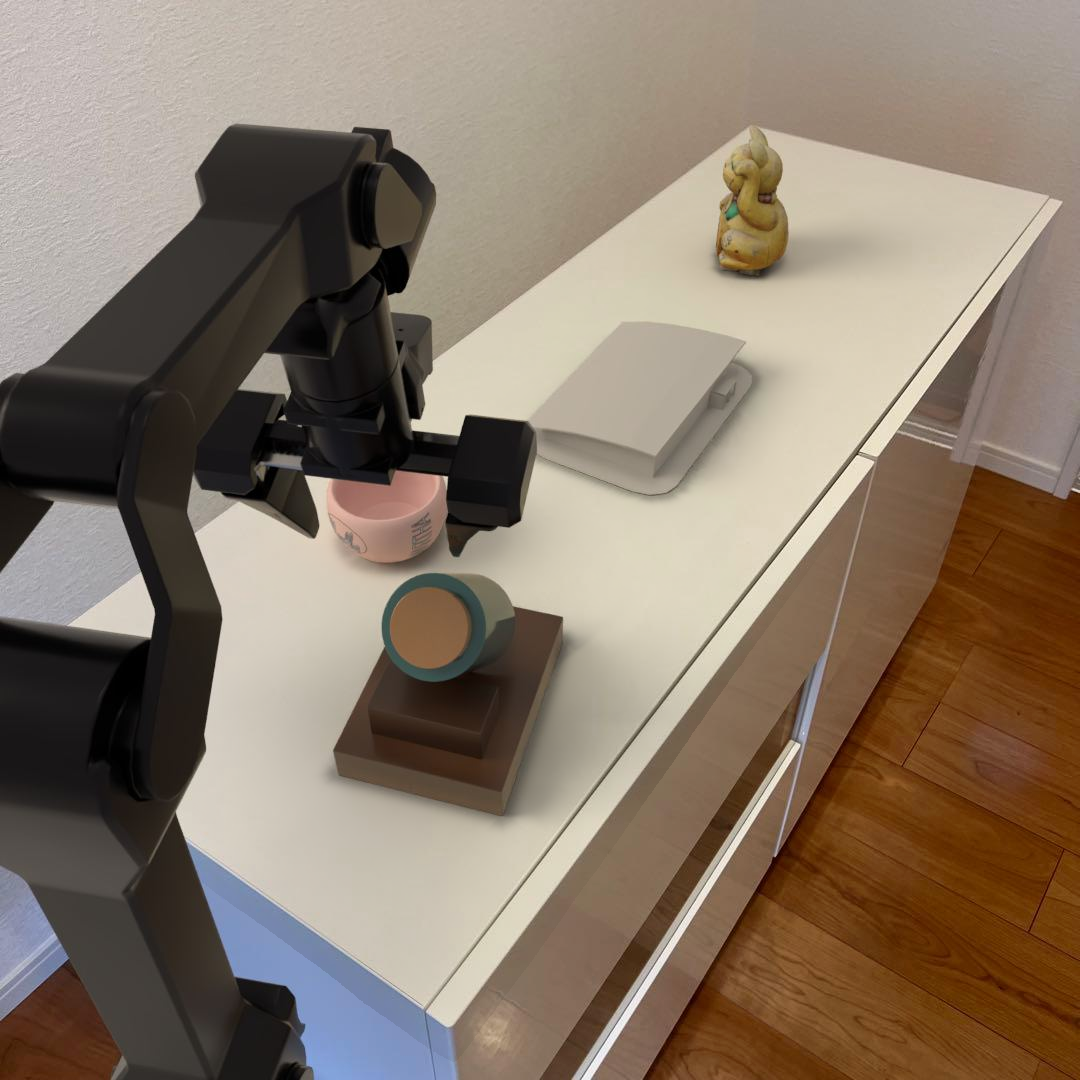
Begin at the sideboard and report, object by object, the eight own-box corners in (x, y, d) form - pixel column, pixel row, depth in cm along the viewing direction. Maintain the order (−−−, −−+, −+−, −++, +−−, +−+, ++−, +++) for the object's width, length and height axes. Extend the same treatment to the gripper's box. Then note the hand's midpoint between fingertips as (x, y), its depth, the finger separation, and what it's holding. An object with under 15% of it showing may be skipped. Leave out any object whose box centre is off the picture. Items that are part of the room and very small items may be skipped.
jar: (477, 750, 73) (471, 641, 65) (381, 727, 74) (363, 618, 66) (524, 629, 81) (523, 518, 73) (436, 610, 82) (425, 499, 74)
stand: (502, 816, 73) (500, 765, 69) (337, 775, 75) (326, 723, 71) (562, 642, 84) (564, 589, 80) (417, 610, 86) (411, 557, 82)
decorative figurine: (711, 238, 129) (727, 114, 119) (780, 242, 129) (802, 118, 118) (712, 280, 122) (729, 153, 112) (786, 284, 122) (809, 156, 111)
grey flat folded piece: (761, 372, 110) (766, 339, 107) (663, 503, 95) (667, 469, 93) (626, 329, 115) (628, 297, 112) (515, 447, 101) (514, 414, 98)
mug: (474, 535, 92) (471, 483, 88) (385, 596, 87) (377, 543, 83) (384, 471, 98) (377, 420, 94) (295, 525, 93) (284, 473, 89)
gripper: (550, 272, 58) (554, 460, 70) (220, 241, 60) (282, 429, 73) (512, 426, 51) (524, 602, 64) (144, 385, 54) (226, 563, 66)
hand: (385, 541), depth 67 cm, fingers open, 9 cm apart
